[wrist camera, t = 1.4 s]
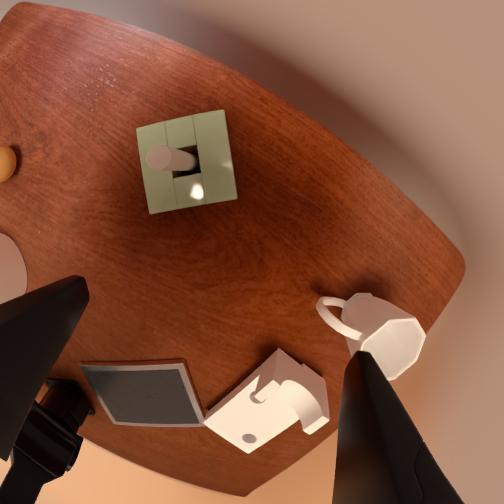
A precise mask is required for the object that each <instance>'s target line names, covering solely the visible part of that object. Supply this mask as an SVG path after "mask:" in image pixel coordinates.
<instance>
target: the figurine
mask: <svg viewBox="0 0 504 504" xmlns="http://www.w3.org/2000/svg"><path fill="white" fill-rule="evenodd" d="M15 168H16V156H15V153H14V151H13V150H12V149H11V148H9V147H7V146H0V182H3V181H6V180H7V179H9V178H10V177H11V176H12V174H13V173H14V170H15Z"/></svg>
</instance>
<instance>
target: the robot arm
mask: <svg viewBox="0 0 504 504" xmlns="http://www.w3.org/2000/svg"><path fill="white" fill-rule="evenodd" d="M89 298H90V296H89V291H88V287H87V283H86V280H85V278H84V277H81V276H79V275H72V276H69V277H67V278H64V279H61V280H59V281H56V282H54V283H51V284H49V285H46V286H44V287H41V288H38V289H36V290H34V291H31V292H29V293H26V294H24V295H21V296H19V297H16V298H14V299H12V300H9V301H7V302H4V303H2V304H0V458H1V459H3V460H4V461H7V460H8V458H9V455H10V457H11V467H10V470H9V471H8V473H7V475H6V477H5V479H4V481H3V482H2V485H1V487H0V504H34V503H35V501H36V499H37V497H38V494H39V492H40V490H41V488H42V486H43V484H45V483H47V482H50V481H52V480H54V479H56V478H59V477H61V476H63V474H64V473H65V471H67V472H68V471H69V470H70V469H71V468H72V466H73V465H74V463H75V461H76V459H77V457H78V454H79V451H80V447H81V445H82V442H83V439H84V438H83V437H81V436H79V435H78V434H76V433H77V431H78V429H79V427H80V426H82V424H83V422H84V420H85V418H86V416H87V415H94V414H95V411H94V409H93V408H92V406H91V405H90V403H89V401H88V400H87V398H86V396H85V395H84V393H83V391H82V390H81V388H80V386H79V384H78V383H77V382H76V381H72V380H61V379H51V378H47V376H48V374H49V372H50V371H51V369H52V367H53V365H54V364H55V362H56V360H57V359H58V357H59V355H60V353H61V352H62V350H63V348H64V347H65V345H66V344H67V342H68V340H69V339H70V337H71V335H72V333H73V331H74V329H75V327H76V325H77V323H78V321H79V319H80V318H81V316H82V314H83V312H84V310H85V308H86V306H87V304H88V302H89ZM44 382H46V384H47V385H48V387H49V390H48V392H47V393H46V394H45V396H44V397H43V399H42V400H41V402H40V403H39V404H38V403H37V402H36V400H35V398H36V397H37V395H38V393H39V391H40V389H41V387H42V385H43V383H44ZM332 504H464V502H463V501H462V500H461V498H460V497H459V495H458V494H457V493H456V491H455V490H454V488H453V487H452V485H451V484H450V482H449V481H448V479H447V478H446V477H445V475H444V474H443V472H442V471H441V469H440V467H439V466H438V465H437V463H436V461H435V459H434V458H433V456H432V454H431V453H430V451H429V449H428V448H427V446H426V444H425V442H423V439H422V437H421V435H420V434H419V432H418V430H417V428H416V427H415V425H414V423H413V421H412V420H411V418H410V416H409V415H408V413H407V411H406V410H405V408H404V406H403V405H402V403H401V401H400V400H399V398H398V397H397V395H396V393H395V391H394V390H393V388H392V386H391V385H390V383H389V382H388V380H387V378H386V377H385V375H384V373H383V372H382V370H381V369H380V367H379V366H378V364H377V362H376V361H375V359H374V358H373V356H372V354H371V353H370V352H367V351H361V350H358V351H356V352H355V353H354V355H353V357H352V358H351V360H350V362H349V363H348V365H347V367H346V370H345V374H344V382H343V390H342V397H341V404H340V411H339V421H338V440H337V457H336V470H335V480H334V490H333V500H332Z"/></svg>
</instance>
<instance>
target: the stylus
mask: <svg viewBox="0 0 504 504" xmlns="http://www.w3.org/2000/svg"><path fill="white" fill-rule="evenodd" d="M146 161H147V164H148V166H149V167H150V168H151V169H153V170H156V171H193V170H195V169H197V168H198V166H199V159H198V157H197V156H195V155H193V154H190V153H187V152H184V151H181V150H178V149H175V148H172V147H169V146H166V145H163V144H157V145H154V146H152V147H151V148H150V149H149V151H148V152H147V155H146Z"/></svg>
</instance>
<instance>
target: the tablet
mask: <svg viewBox="0 0 504 504" xmlns="http://www.w3.org/2000/svg"><path fill="white" fill-rule="evenodd" d="M80 367H81V369H82V371H83V373H84V375H85V377H86V378H87V380H88V382H89V384H90V386H91V388H92V389H93V391H94V393H95V395H96V396H97V398H98V400H99V401H100V403H101V405H102V406H103V408H104V410H105V411H106V413H107V414H108V416H109V418H110V419H111V421H112V422H113V424H118V425H131V426H149V427H202V426H206V425H205V424H203V421H204V419H205V417H206V416H205V414H204V411H203V409H202V406H201V404H200V401H199V398H198V396H197V393H196V390H195V388H194V385H193V382H192V379H191V376H190V374H189V371H188V368H187V365H186V362H185V359H173V360H156V361H128V362H84V361H83V362H82V363H81V364H80Z"/></svg>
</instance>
